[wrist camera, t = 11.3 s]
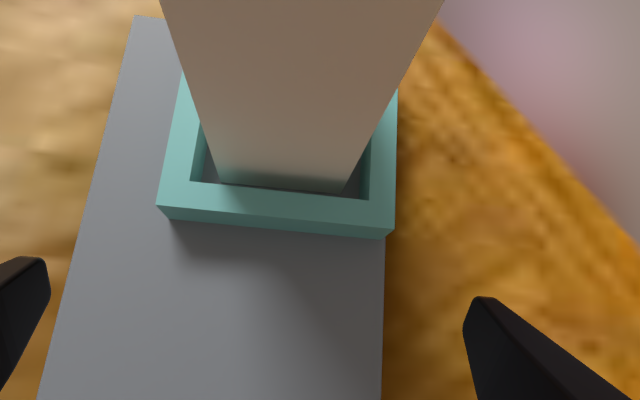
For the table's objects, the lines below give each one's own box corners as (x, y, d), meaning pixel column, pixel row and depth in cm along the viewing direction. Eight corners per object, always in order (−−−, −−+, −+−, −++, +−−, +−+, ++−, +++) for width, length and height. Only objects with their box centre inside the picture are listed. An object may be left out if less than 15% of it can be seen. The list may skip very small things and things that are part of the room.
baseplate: (370, 504, 15) (394, 545, 12) (27, 490, 14) (-34, 531, 11) (385, 63, 21) (403, 22, 18) (140, 29, 20) (119, -20, 17)
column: (340, 193, 18) (523, -147, 5) (220, 182, 17) (81, -227, 4) (345, 90, 19) (496, -374, 6) (236, 77, 19) (164, -453, 6)
